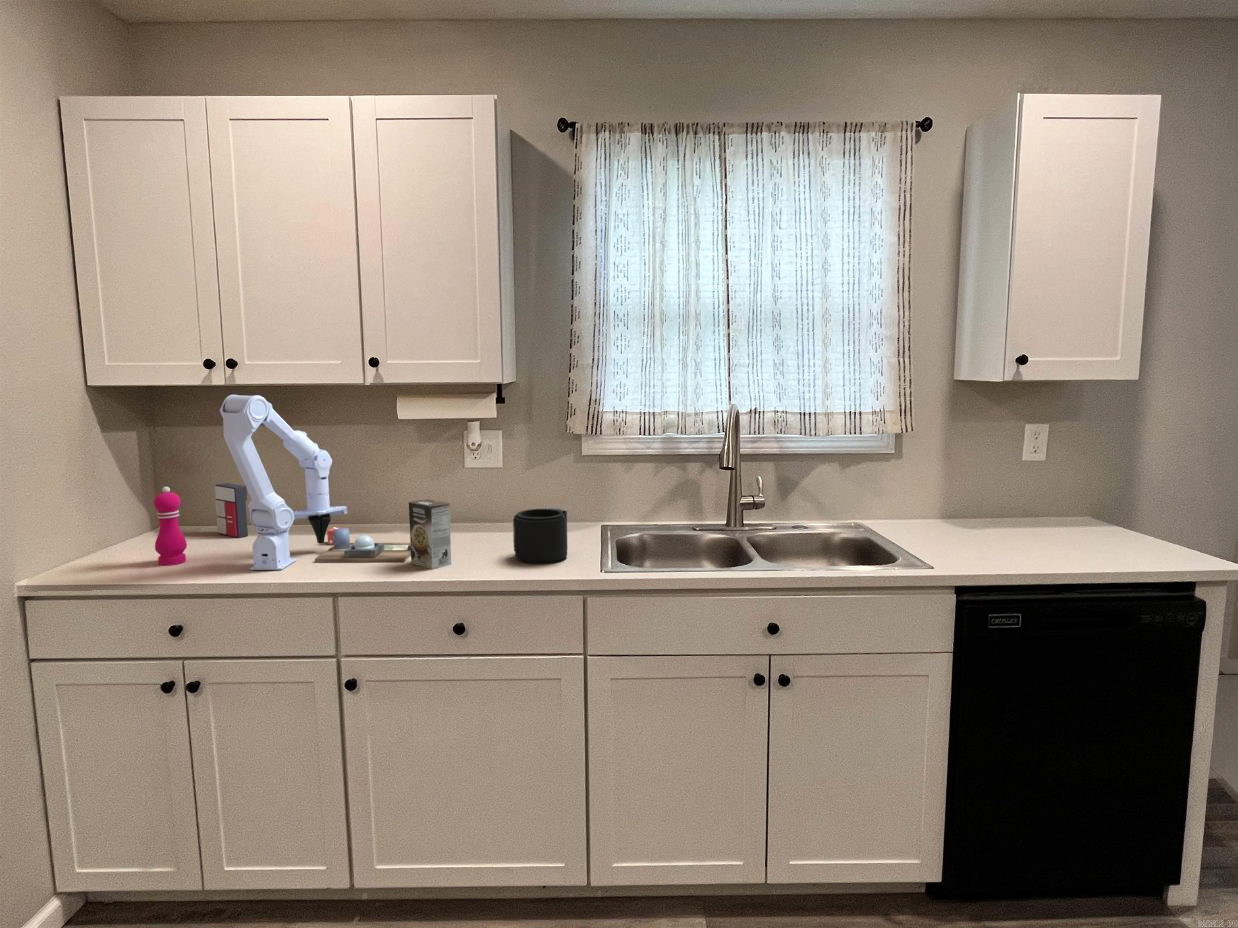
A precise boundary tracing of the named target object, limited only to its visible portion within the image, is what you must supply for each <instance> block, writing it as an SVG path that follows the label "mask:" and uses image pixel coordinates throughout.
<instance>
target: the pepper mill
mask: <svg viewBox="0 0 1238 928" xmlns="http://www.w3.org/2000/svg"><path fill="white" fill-rule="evenodd" d="M161 491H162V493H159V494H157V495H156V496H155V498H154V499H153V506H154V508H155V509H156V510H157V512H156V515H157V516H156V517H157V518H158V519H159V531H158V534H157V537H156V540H155V542H154V543H155V544H154V551H156V553H157V554H158V555H159V556H158V557H157V561H158V565H160V566H176V565H180V564H183V563H185V562H186V561H187V558H186V557H187V556H186V555H187V554H186V553H184V552H185V550H186V549H187V547H188V544H187V540H186V537H185V535H184V534H183V532H182V531H181V529H180V526H179V522H178V521H179V519H178V518H179V516H180V511H179V507H180V506H181V498H180V496H179V495H178V494H177V493H176V492H170V491H171V488H170V487H169V486H163V487H162V489H161Z"/></svg>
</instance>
